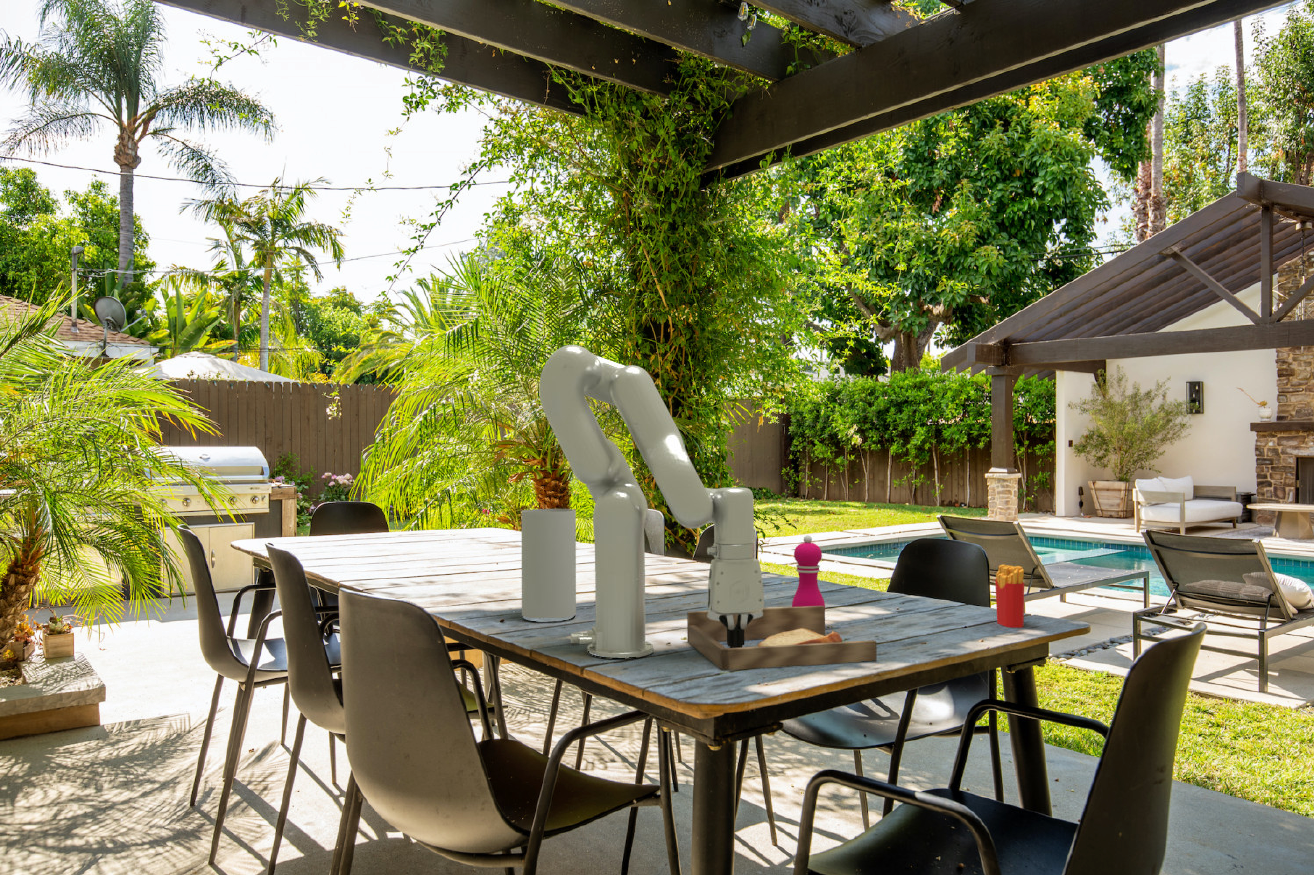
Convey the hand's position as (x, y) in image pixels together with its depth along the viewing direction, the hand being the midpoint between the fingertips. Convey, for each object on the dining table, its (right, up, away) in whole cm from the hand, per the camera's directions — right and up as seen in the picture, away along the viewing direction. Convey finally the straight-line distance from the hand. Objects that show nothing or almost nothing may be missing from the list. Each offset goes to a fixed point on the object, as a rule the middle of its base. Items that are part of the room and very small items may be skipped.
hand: (735, 649), depth 165 cm
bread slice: (+13, -1, +3) cm, 13 cm away
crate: (+9, -1, +2) cm, 9 cm away
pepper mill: (+18, -1, +24) cm, 30 cm away
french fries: (+63, -1, +26) cm, 68 cm away
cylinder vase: (-40, -2, +37) cm, 55 cm away
